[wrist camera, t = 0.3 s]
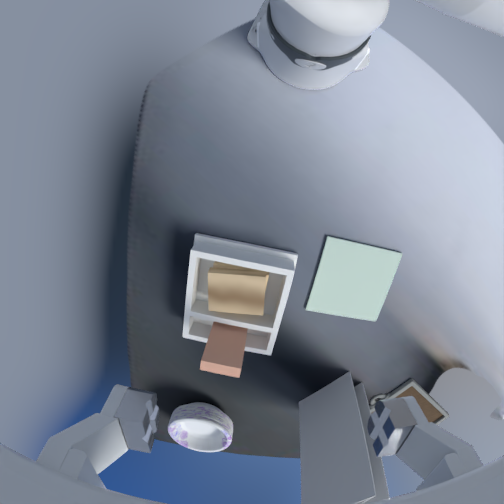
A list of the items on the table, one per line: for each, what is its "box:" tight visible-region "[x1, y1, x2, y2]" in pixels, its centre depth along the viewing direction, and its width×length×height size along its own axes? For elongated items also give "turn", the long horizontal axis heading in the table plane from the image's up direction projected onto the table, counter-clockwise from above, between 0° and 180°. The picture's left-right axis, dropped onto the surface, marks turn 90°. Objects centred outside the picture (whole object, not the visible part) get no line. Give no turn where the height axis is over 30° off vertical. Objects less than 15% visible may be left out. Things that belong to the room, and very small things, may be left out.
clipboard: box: [369, 378, 449, 425], centre depth 64 cm, size 19×2×30 cm
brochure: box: [299, 371, 390, 504], centre depth 47 cm, size 14×6×30 cm, turn 135°
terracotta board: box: [200, 322, 248, 378], centre depth 48 cm, size 2×6×13 cm, turn 80°
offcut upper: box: [208, 267, 266, 315], centre depth 49 cm, size 7×9×2 cm
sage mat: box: [306, 236, 402, 321], centre depth 51 cm, size 14×14×1 cm
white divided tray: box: [183, 233, 298, 355], centre depth 51 cm, size 19×17×5 cm
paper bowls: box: [168, 402, 233, 452], centre depth 63 cm, size 15×15×8 cm
